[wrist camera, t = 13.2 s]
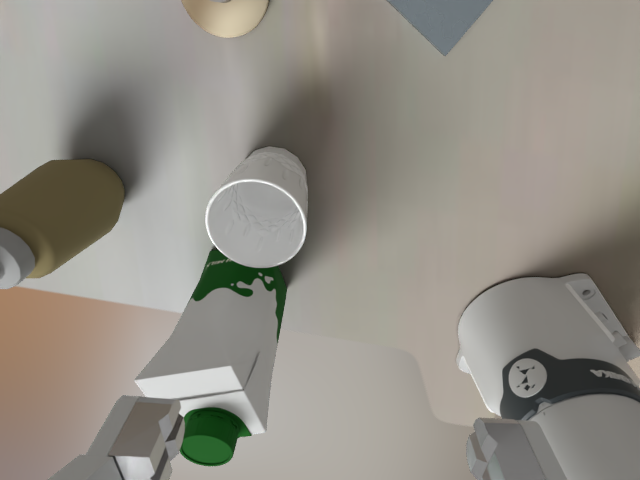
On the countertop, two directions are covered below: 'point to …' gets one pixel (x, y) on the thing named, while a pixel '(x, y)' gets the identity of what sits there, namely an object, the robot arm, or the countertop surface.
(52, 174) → the squeeze bottle
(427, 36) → the grey plate with knob
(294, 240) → the white cup
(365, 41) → the countertop surface
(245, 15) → the stand
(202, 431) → the milk carton
